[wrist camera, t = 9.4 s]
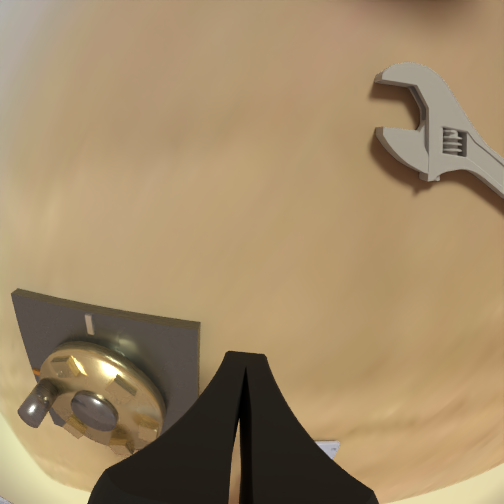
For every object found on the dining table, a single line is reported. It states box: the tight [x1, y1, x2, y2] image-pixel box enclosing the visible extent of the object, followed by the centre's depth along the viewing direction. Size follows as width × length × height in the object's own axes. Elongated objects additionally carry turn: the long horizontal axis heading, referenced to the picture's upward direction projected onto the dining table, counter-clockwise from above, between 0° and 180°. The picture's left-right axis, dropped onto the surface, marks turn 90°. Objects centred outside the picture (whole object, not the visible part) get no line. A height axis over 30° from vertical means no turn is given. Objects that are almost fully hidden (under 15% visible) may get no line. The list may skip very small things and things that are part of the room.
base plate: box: [11, 289, 200, 450], centre depth 23 cm, size 16×16×1 cm
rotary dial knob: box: [18, 341, 166, 455], centre depth 19 cm, size 11×11×6 cm
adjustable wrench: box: [374, 62, 504, 199], centre depth 17 cm, size 25×6×2 cm, turn 64°
